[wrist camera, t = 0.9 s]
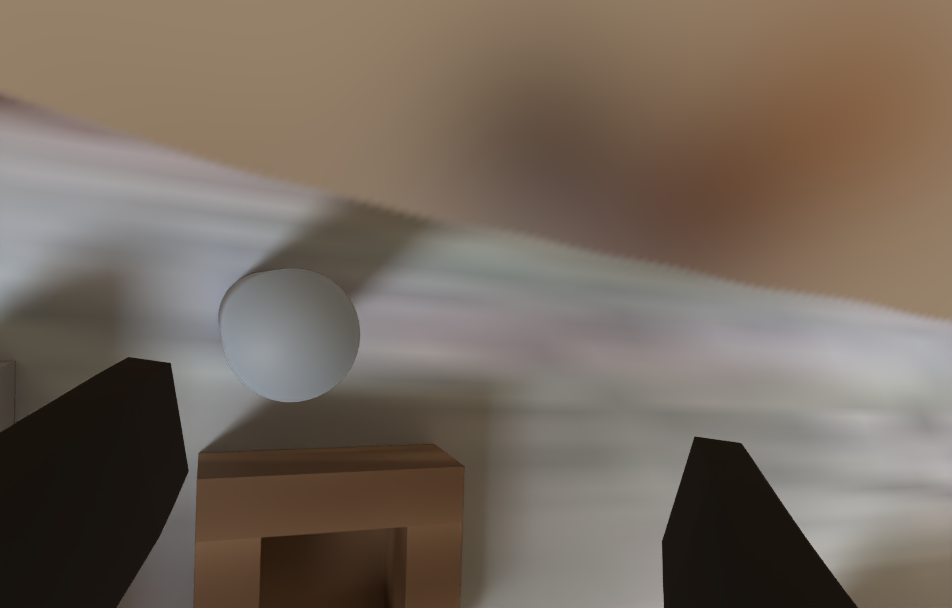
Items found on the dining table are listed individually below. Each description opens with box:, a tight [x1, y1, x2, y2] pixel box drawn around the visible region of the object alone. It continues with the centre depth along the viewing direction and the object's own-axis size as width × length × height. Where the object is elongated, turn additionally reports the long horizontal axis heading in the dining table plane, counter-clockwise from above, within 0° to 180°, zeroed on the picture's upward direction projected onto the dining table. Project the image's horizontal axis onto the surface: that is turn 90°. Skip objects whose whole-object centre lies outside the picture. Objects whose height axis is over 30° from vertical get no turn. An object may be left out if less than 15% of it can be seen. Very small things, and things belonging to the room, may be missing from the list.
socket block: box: [194, 444, 464, 608], centre depth 25 cm, size 8×8×4 cm
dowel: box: [219, 268, 360, 402], centre depth 21 cm, size 3×3×9 cm
